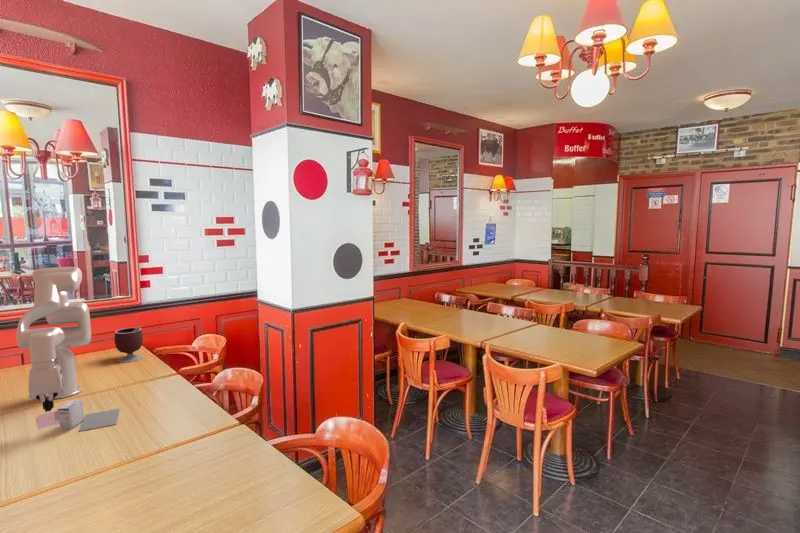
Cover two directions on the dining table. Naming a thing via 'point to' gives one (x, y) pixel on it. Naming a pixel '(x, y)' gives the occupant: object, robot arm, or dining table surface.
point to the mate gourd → (129, 343)
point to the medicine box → (71, 414)
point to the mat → (99, 420)
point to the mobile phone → (48, 420)
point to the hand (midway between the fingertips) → (48, 410)
